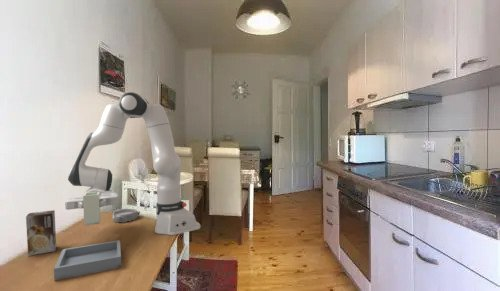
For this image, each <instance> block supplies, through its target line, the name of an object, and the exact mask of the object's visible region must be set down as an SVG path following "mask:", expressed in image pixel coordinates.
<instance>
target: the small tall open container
mask: <svg viewBox="0 0 500 291" xmlns="http://www.w3.org/2000/svg"><path fill="white" fill-rule="evenodd" d="M82 197H83V206H84V208H83V226H92V225H99V224H100V222H101V207H100V206H99V202H100V196H99V192H90V193H86V192H84V194H83V196H82Z"/></svg>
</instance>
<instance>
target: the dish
mask: <svg viewBox="0 0 500 291" xmlns="http://www.w3.org/2000/svg"><path fill="white" fill-rule="evenodd" d="M140 214H141V212H140V210H137V209H134V208H121V209H117V210H114V211H113V212H112V221H113V222H114V223H116V222H123V223H128V222H127V221H129V222H133V221H135V220H136V219H137V218H138V216H140ZM132 220H133V221H132Z"/></svg>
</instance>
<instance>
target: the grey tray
mask: <svg viewBox="0 0 500 291" xmlns="http://www.w3.org/2000/svg"><path fill="white" fill-rule="evenodd" d="M121 252H122V251H121V239H119V240H113V241H106V242H100V243H99V242H98V243H94V244H88V245H81V246H75V247H69V248H64V249H62V250H61V252H60V255H59V256H58V258H57V261H56V263H55V265H54V268H53V276H54V277H53V278H54V279H53V281H54V280H56V281H59V280H58V279H61V280H64V279H63V278H66V279H70V278H76V277H81V276H86V275H89V274H90V275H91V274H94V273H100V272H106V271H110V270H115V269H119V268H122V253H121Z"/></svg>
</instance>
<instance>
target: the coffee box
mask: <svg viewBox="0 0 500 291" xmlns="http://www.w3.org/2000/svg"><path fill="white" fill-rule="evenodd" d="M25 226H26V243H27V256H33V255H40V254H46V253H51V252H52V253H53V252H56V249H57V235H56V234H57V233H56V214H55V209H54V210H45V211H38V212H37V211H35V212H29V213H27V215H26V216H25Z"/></svg>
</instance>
